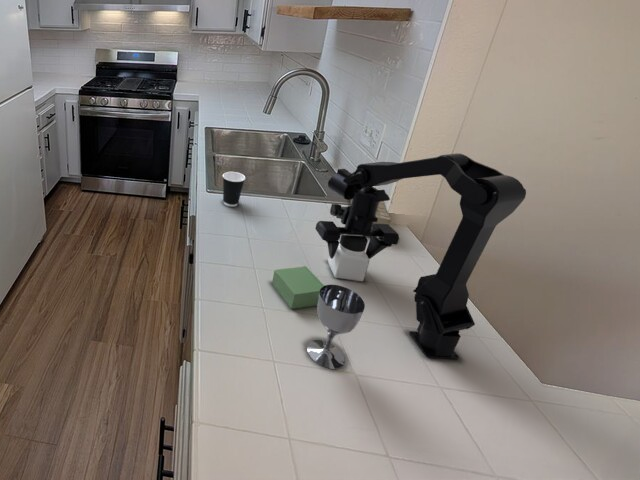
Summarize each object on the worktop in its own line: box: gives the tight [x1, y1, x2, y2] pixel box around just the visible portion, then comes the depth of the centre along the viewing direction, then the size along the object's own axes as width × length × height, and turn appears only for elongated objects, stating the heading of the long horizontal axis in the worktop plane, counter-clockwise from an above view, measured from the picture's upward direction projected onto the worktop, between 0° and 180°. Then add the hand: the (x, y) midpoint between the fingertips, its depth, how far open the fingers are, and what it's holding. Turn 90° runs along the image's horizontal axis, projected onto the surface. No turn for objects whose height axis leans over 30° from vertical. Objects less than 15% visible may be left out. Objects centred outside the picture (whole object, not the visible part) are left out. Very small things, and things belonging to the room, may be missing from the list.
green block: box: [271, 265, 325, 310], centre depth 96 cm, size 9×9×4 cm
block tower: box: [349, 186, 392, 225], centre depth 131 cm, size 8×8×29 cm
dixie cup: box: [222, 171, 246, 208], centre depth 138 cm, size 8×8×11 cm
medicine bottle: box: [327, 235, 371, 282], centre depth 103 cm, size 7×7×12 cm
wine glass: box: [306, 284, 366, 370], centre depth 78 cm, size 8×8×15 cm
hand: (348, 258), depth 104 cm, fingers open, 9 cm apart
